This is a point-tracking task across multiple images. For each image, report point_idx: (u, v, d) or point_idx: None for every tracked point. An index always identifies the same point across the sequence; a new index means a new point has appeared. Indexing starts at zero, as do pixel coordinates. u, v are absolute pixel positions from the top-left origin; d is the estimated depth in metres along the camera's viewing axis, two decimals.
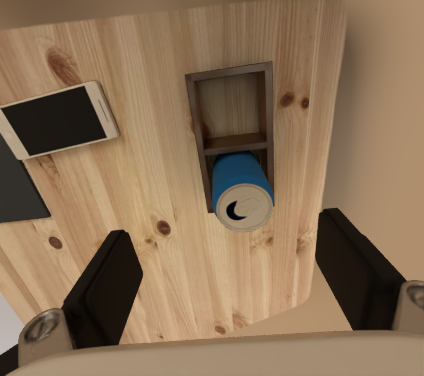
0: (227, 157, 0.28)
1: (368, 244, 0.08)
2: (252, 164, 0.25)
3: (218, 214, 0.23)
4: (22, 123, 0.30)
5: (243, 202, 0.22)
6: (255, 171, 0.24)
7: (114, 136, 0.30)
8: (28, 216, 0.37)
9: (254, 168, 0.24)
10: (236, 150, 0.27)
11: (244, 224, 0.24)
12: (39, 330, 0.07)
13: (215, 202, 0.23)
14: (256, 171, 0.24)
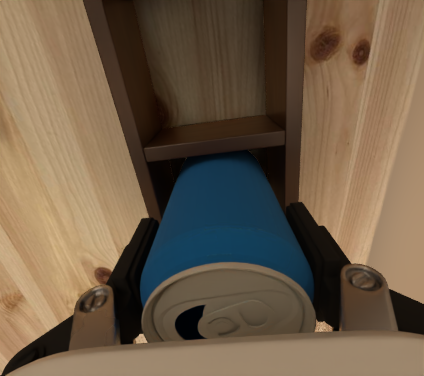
0: (197, 165, 0.13)
1: (321, 233, 0.09)
2: (252, 185, 0.10)
3: (152, 338, 0.08)
4: None
5: (223, 309, 0.07)
6: (260, 209, 0.08)
7: None
8: None
9: (257, 197, 0.09)
10: (216, 150, 0.12)
11: None
12: (91, 303, 0.08)
13: (144, 302, 0.08)
14: (263, 208, 0.09)
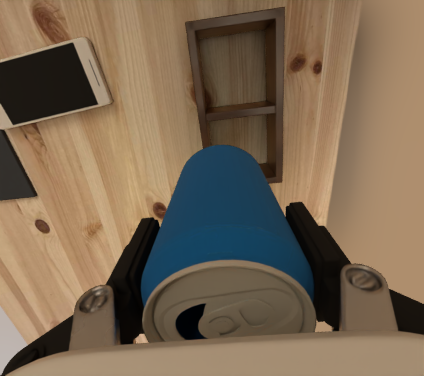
0: (197, 167, 0.13)
1: (321, 233, 0.09)
2: (252, 186, 0.10)
3: (152, 337, 0.08)
4: (4, 86, 0.27)
5: (224, 308, 0.07)
6: (261, 209, 0.09)
7: (106, 103, 0.28)
8: (12, 195, 0.34)
9: (257, 198, 0.09)
10: (241, 115, 0.24)
11: None
12: (91, 303, 0.08)
13: (145, 301, 0.08)
14: (263, 208, 0.09)
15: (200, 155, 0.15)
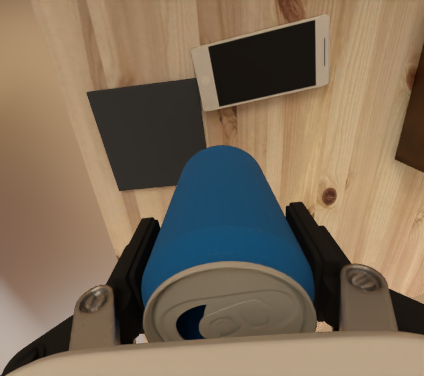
0: (198, 167, 0.13)
1: (321, 233, 0.09)
2: (253, 187, 0.10)
3: (153, 338, 0.08)
4: (226, 66, 0.27)
5: (224, 309, 0.07)
6: (261, 210, 0.09)
7: (324, 83, 0.27)
8: None
9: (258, 199, 0.09)
10: None
11: None
12: (91, 303, 0.08)
13: (145, 302, 0.08)
14: (264, 209, 0.09)
15: (200, 156, 0.15)
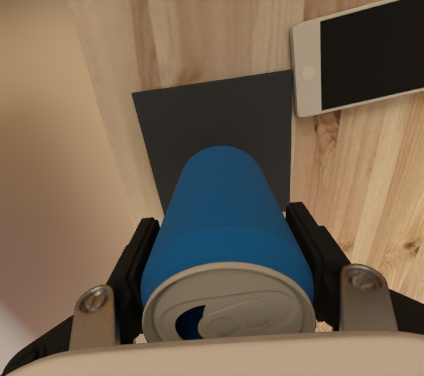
0: (197, 168, 0.13)
1: (321, 233, 0.09)
2: (252, 187, 0.10)
3: (152, 339, 0.08)
4: (342, 50, 0.18)
5: (223, 310, 0.07)
6: (260, 210, 0.09)
7: None
8: None
9: (257, 199, 0.09)
10: None
11: None
12: (91, 303, 0.08)
13: (144, 302, 0.08)
14: (263, 210, 0.09)
15: (200, 156, 0.15)
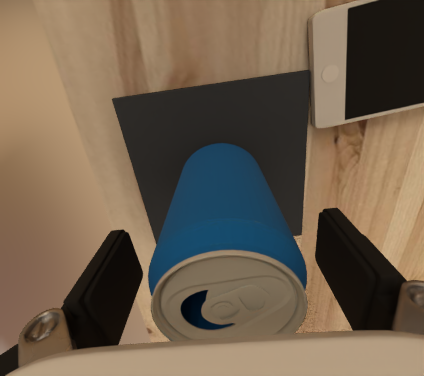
0: (199, 165, 0.14)
1: (368, 244, 0.08)
2: (250, 183, 0.11)
3: (160, 321, 0.09)
4: (374, 46, 0.14)
5: (224, 293, 0.08)
6: (258, 204, 0.09)
7: None
8: None
9: (255, 194, 0.10)
10: None
11: None
12: (39, 330, 0.07)
13: (152, 288, 0.09)
14: (260, 204, 0.09)
15: (201, 153, 0.16)
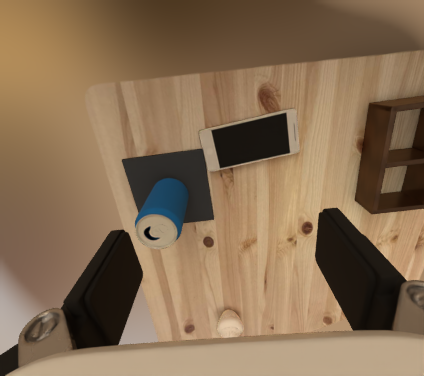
0: (155, 189, 0.36)
1: (368, 244, 0.08)
2: (169, 196, 0.33)
3: (138, 236, 0.31)
4: (224, 142, 0.37)
5: (155, 227, 0.30)
6: (167, 203, 0.31)
7: (296, 152, 0.37)
8: (196, 218, 0.44)
9: (168, 200, 0.32)
10: (412, 163, 0.34)
11: (159, 243, 0.31)
12: (39, 330, 0.07)
13: (136, 227, 0.31)
14: (168, 203, 0.32)
15: (158, 183, 0.38)
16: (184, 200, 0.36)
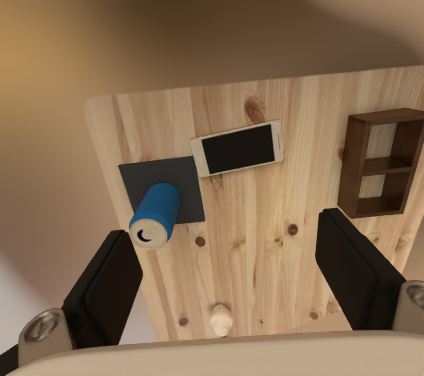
0: (149, 194, 0.39)
1: (368, 244, 0.08)
2: (161, 201, 0.36)
3: (131, 238, 0.34)
4: (213, 150, 0.39)
5: (147, 230, 0.33)
6: (158, 208, 0.34)
7: (280, 160, 0.40)
8: (188, 220, 0.47)
9: (160, 205, 0.35)
10: (387, 172, 0.36)
11: (151, 244, 0.34)
12: (39, 330, 0.07)
13: (130, 230, 0.34)
14: (159, 208, 0.35)
15: (152, 188, 0.41)
16: (175, 204, 0.39)
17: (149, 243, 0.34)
